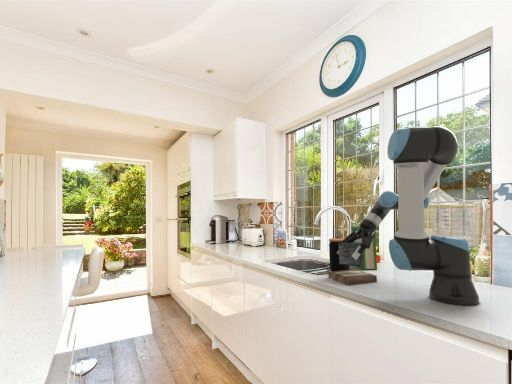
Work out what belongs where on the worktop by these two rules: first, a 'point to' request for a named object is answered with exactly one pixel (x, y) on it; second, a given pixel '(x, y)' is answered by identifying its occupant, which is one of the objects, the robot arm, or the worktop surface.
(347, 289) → the worktop surface
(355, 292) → the worktop surface
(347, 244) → the small box
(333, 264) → the coffee jar
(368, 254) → the hardback book
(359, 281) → the walnut stand
